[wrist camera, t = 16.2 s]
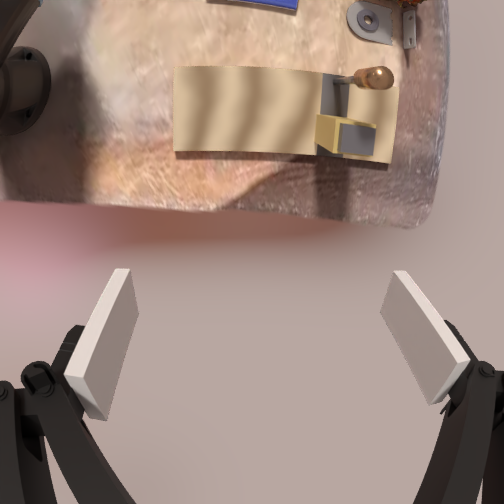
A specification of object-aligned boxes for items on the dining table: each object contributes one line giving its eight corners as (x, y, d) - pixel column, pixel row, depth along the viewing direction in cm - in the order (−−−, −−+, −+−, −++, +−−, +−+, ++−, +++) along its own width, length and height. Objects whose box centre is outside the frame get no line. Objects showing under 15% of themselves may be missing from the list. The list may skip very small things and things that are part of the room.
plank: (174, 149, 42) (173, 151, 41) (175, 68, 36) (173, 67, 35) (387, 161, 44) (390, 163, 43) (395, 87, 38) (399, 87, 37)
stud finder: (314, 141, 41) (335, 155, 32) (316, 113, 39) (339, 119, 30) (347, 145, 42) (376, 159, 33) (350, 118, 40) (380, 125, 31)
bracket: (344, -2, 32) (352, -8, 29) (404, 13, 33) (415, 10, 30) (344, 36, 35) (353, 32, 32) (404, 49, 36) (416, 47, 33)
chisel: (327, 88, 38) (371, 87, 24) (328, 72, 37) (372, 63, 23) (343, 91, 38) (393, 92, 25) (344, 75, 37) (394, 69, 23)
